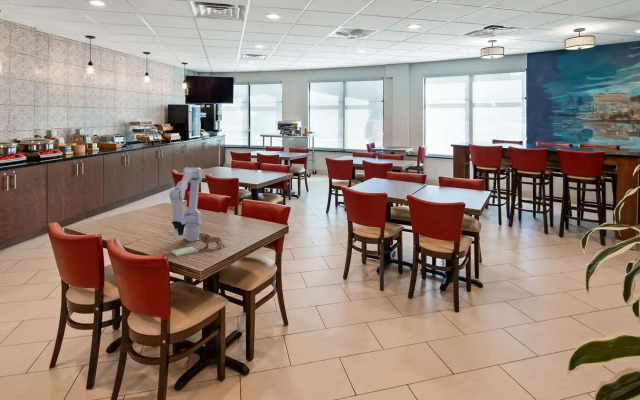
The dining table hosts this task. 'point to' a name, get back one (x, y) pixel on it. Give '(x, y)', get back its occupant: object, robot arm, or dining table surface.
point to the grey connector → (175, 233)
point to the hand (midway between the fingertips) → (179, 234)
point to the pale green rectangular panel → (184, 251)
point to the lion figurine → (210, 240)
